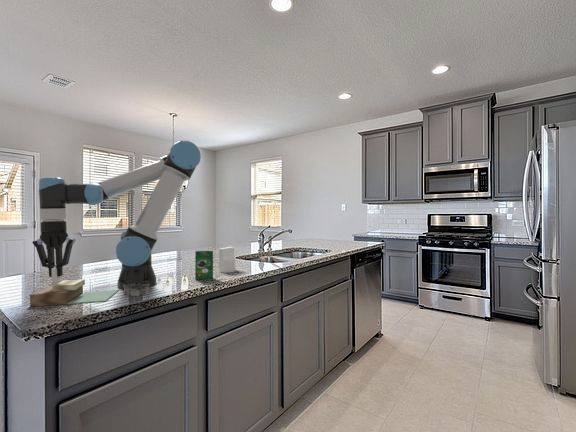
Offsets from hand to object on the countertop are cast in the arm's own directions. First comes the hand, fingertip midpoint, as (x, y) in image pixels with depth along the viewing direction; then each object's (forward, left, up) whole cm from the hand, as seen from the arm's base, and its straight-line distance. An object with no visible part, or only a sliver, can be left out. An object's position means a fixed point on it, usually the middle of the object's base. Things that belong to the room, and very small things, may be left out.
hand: (56, 285), depth 115 cm
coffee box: (-52, -20, -5) cm, 56 cm away
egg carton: (-26, -2, -6) cm, 27 cm away
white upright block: (-63, -37, -5) cm, 73 cm away
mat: (-13, 0, -5) cm, 14 cm away
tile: (-4, 0, -1) cm, 4 cm away
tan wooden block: (-1, 0, -5) cm, 5 cm away
